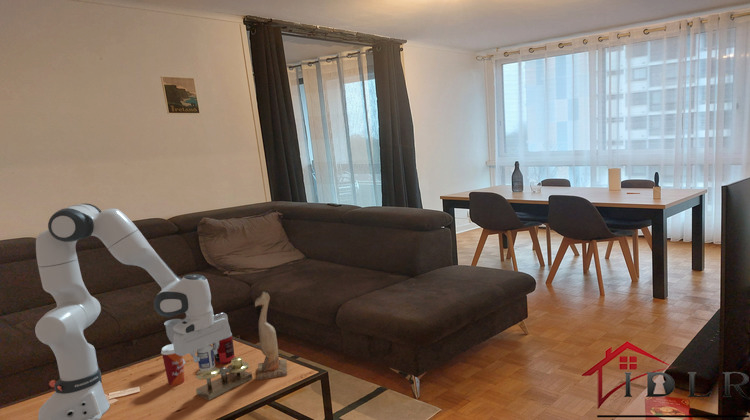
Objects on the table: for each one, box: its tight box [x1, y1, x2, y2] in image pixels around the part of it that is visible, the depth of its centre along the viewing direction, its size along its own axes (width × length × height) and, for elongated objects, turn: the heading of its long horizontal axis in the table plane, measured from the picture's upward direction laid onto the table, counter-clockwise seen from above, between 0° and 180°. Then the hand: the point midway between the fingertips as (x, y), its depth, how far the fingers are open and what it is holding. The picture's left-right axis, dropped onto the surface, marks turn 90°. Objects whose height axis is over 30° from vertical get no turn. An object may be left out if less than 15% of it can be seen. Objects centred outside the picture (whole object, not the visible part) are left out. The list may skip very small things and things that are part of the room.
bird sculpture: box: [254, 291, 288, 381], centre depth 184 cm, size 11×12×32 cm
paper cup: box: [160, 343, 185, 387], centre depth 183 cm, size 8×8×14 cm
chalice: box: [163, 318, 186, 365], centre depth 199 cm, size 7×7×18 cm
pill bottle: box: [196, 341, 216, 371], centre depth 170 cm, size 5×5×10 cm
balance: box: [195, 356, 253, 401], centre depth 176 cm, size 20×8×8 cm, turn 140°
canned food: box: [211, 332, 236, 365], centre depth 199 cm, size 8×8×11 cm
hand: (205, 357), depth 171 cm, fingers closed on pill bottle, 5 cm apart
